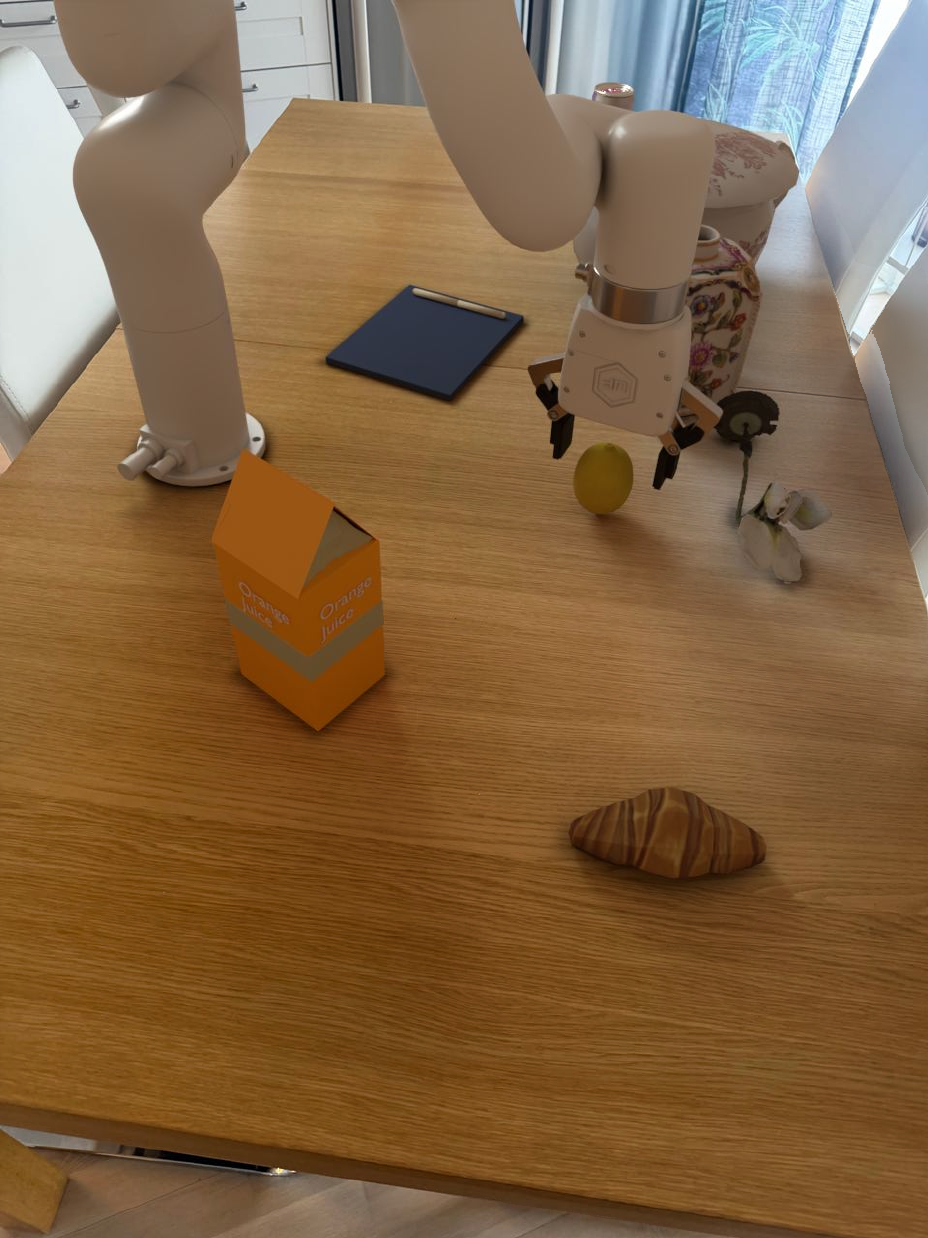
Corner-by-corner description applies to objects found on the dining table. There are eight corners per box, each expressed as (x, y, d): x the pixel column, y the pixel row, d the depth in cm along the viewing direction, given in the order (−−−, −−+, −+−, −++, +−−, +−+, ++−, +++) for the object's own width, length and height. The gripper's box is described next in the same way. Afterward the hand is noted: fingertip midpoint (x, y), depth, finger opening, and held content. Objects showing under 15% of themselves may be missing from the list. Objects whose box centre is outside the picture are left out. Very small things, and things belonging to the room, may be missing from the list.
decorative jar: (634, 425, 100) (667, 263, 87) (595, 367, 107) (620, 211, 94) (735, 411, 102) (781, 252, 89) (689, 356, 110) (726, 202, 97)
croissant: (754, 815, 67) (773, 776, 63) (767, 903, 62) (789, 866, 58) (566, 798, 67) (575, 759, 63) (566, 884, 62) (574, 847, 59)
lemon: (625, 496, 91) (639, 429, 85) (626, 533, 87) (641, 465, 82) (569, 491, 91) (579, 423, 86) (567, 528, 88) (578, 459, 82)
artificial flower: (776, 450, 99) (832, 382, 91) (780, 615, 86) (845, 551, 78) (701, 422, 98) (750, 350, 90) (692, 584, 85) (750, 517, 77)
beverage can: (572, 192, 142) (585, 83, 131) (606, 187, 143) (621, 79, 133) (592, 207, 138) (607, 97, 127) (626, 202, 140) (644, 92, 129)
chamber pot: (532, 325, 113) (549, 146, 98) (568, 231, 132) (587, 69, 117) (764, 361, 110) (818, 181, 95) (767, 259, 128) (814, 95, 113)
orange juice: (309, 621, 78) (284, 422, 64) (387, 674, 75) (379, 475, 60) (238, 675, 74) (194, 474, 59) (316, 734, 70) (290, 535, 56)
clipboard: (450, 401, 102) (450, 388, 100) (325, 362, 106) (324, 350, 105) (523, 321, 114) (524, 309, 113) (409, 289, 119) (409, 278, 118)
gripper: (518, 285, 73) (508, 461, 85) (734, 337, 68) (689, 517, 80) (555, 247, 78) (540, 420, 90) (759, 294, 73) (713, 470, 85)
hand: (610, 465), depth 85 cm, fingers open, 9 cm apart
